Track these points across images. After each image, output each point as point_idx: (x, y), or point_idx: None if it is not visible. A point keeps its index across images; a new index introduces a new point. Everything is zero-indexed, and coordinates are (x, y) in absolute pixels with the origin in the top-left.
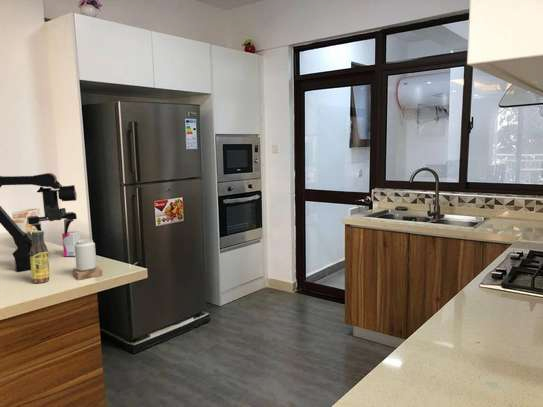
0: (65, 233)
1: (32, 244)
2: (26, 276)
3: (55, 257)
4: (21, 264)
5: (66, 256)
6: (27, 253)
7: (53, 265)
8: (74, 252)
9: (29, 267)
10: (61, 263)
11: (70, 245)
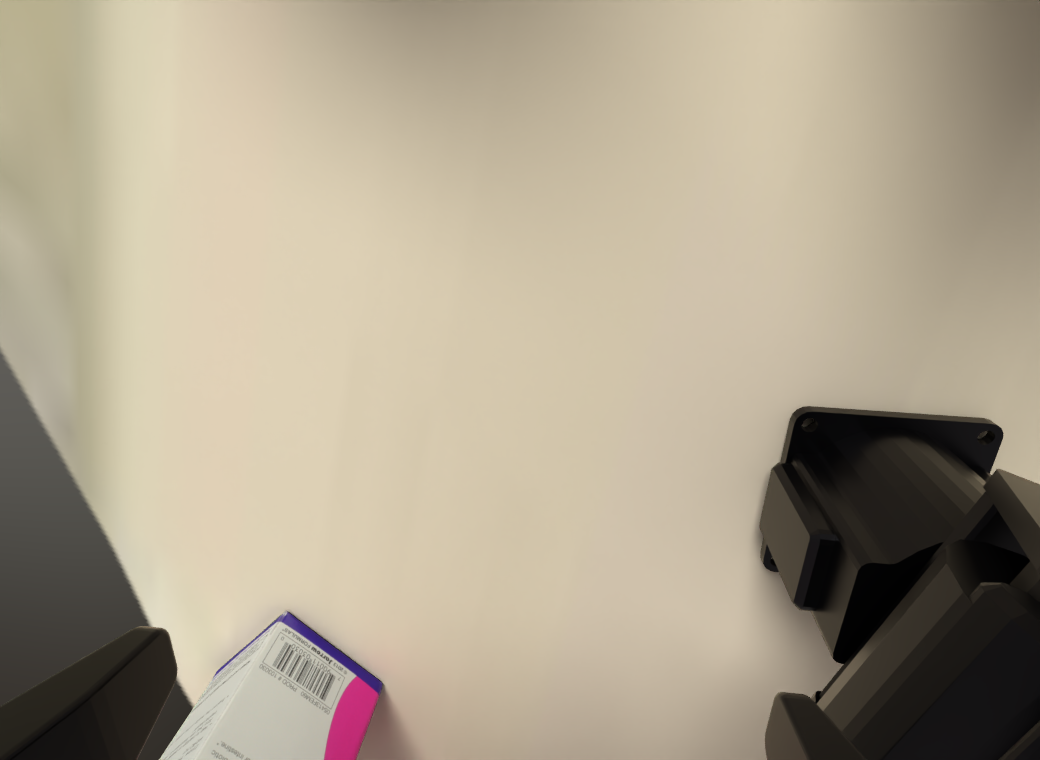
0: (98, 676)
1: (1013, 619)
2: (1018, 85)
3: (459, 725)
4: (974, 475)
5: (361, 671)
6: (1020, 497)
7: (555, 425)
8: (263, 652)
9: (843, 445)
10: (458, 449)
11: (254, 757)
